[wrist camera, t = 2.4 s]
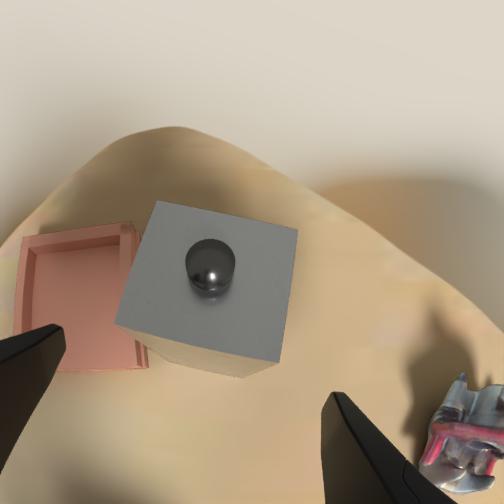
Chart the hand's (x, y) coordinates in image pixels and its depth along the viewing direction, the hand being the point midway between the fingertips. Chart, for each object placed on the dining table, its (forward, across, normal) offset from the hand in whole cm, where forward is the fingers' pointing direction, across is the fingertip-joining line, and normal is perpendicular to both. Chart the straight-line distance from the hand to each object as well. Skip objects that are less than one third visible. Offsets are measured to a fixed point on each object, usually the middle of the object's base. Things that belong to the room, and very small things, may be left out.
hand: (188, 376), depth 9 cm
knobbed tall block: (+10, 0, +6) cm, 12 cm away
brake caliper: (+6, -22, +10) cm, 25 cm away
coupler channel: (+10, +10, +6) cm, 15 cm away
